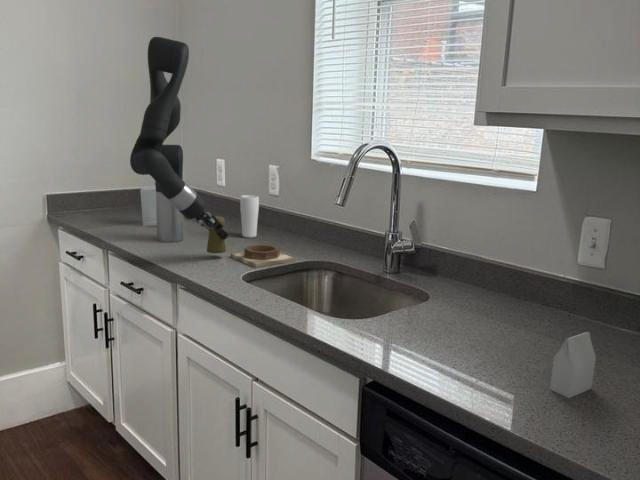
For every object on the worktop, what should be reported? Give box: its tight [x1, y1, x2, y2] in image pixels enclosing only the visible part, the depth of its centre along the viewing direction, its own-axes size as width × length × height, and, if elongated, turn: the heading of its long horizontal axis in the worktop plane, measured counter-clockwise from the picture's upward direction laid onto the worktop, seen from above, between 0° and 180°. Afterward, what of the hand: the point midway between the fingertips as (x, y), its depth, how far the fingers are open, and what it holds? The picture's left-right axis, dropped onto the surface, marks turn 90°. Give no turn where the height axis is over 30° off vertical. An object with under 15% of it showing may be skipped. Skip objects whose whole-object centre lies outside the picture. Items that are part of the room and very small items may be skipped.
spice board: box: [230, 244, 295, 269], centre depth 182 cm, size 15×14×4 cm
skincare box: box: [139, 186, 157, 227], centre depth 228 cm, size 8×6×15 cm
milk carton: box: [549, 331, 597, 399], centre depth 101 cm, size 4×7×10 cm, turn 125°
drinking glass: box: [239, 194, 260, 239], centre depth 213 cm, size 7×7×15 cm
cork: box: [206, 215, 227, 254], centre depth 181 cm, size 6×6×11 cm
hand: (221, 235), depth 183 cm, fingers closed on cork, 4 cm apart
